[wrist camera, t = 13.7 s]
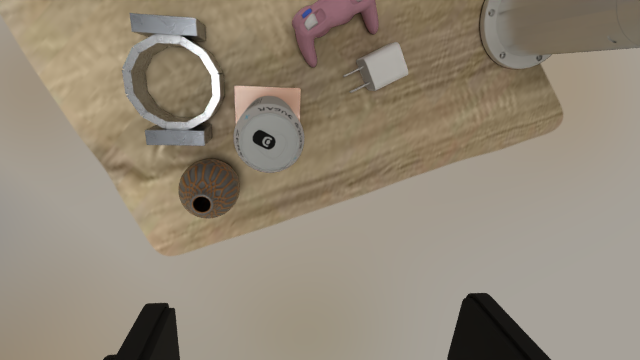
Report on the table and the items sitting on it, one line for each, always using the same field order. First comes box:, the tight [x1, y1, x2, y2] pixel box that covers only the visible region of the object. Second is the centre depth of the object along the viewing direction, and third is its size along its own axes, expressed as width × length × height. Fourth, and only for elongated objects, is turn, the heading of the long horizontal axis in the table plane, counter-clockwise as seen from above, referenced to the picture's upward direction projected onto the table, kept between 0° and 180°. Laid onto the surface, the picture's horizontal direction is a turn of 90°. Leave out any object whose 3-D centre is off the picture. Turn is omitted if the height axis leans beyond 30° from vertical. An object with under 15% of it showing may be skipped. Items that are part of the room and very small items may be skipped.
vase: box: [179, 159, 240, 218], centre depth 37 cm, size 7×7×9 cm
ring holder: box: [122, 13, 225, 146], centre depth 34 cm, size 13×10×5 cm
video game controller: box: [292, 0, 378, 67], centre depth 35 cm, size 10×5×7 cm, turn 117°
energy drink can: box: [234, 96, 304, 173], centre depth 32 cm, size 6×6×15 cm
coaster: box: [234, 85, 301, 124], centre depth 39 cm, size 8×8×1 cm
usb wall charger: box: [343, 42, 408, 93], centre depth 38 cm, size 4×7×4 cm, turn 115°
